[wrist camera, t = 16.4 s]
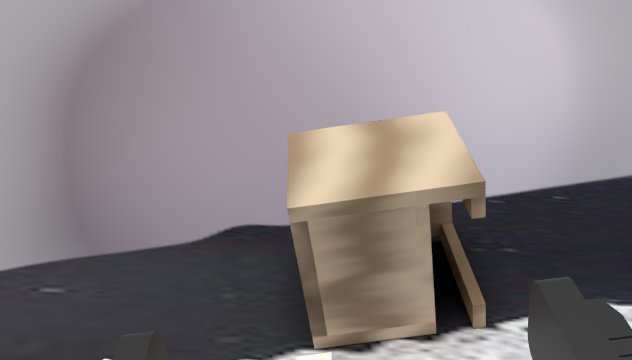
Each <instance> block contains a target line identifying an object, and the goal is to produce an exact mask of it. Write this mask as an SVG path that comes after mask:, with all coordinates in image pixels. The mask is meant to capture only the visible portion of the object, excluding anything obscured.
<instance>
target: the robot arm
mask: <svg viewBox="0 0 632 360" xmlns="http://www.w3.org/2000/svg"><path fill="white" fill-rule="evenodd" d="M528 342H529V348H530V352H531V356H532V359H533V360H632V329H631V327H630V326H629V324H628V323H627V321H626V320H625V318H624V317H623V315H622V314H620V313H619V312H618V311H617V310H615V309H614V308H613V307H611V306H610V305H609V304H607V303H606V302H605V301H603V300H602V299H601V298H599V299H591V300H585V299H584V298H583V296H582V294H581V293H580V291H579V290H578V288H577V286H576V285H575V283H574V281H573V280H572V279H571V278H570V277H563V278H555V279H547V280H539V281H533V282H532V283H531V286H530V301H529V318H528ZM112 360H170V358H169V356H168V353H167V350H166V348H165V345H164V342H163V340H162V337H161V335H160V334H159V332H157V331H153V332H146V333H138V334H130V335H123V336H121V338H120V339H119V341H118V344H117V347H116V350H115V353H114V356H113V359H112Z"/></svg>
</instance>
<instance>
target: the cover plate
mask: <svg viewBox="0 0 632 360" xmlns="http://www.w3.org/2000/svg"><path fill="white" fill-rule="evenodd" d="M295 360H333V358H332V352H328V353H320V354H313V355H305V356H298V357H295Z"/></svg>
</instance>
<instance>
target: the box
mask: <svg viewBox="0 0 632 360" xmlns="http://www.w3.org/2000/svg"><path fill="white" fill-rule="evenodd" d="M287 188H288V189H287V210H288V215H289V220H290V226H291V231H292V236H293V241H294V246H295V251H296V256H297V261H298V267H299V272H300V277H301V282H302V287H303V292H304V297H305V302H306V308H307V313H308V318H309V323H310V328H311V333H312V338H313V343H314V349H319V348H327V347H335V346H342V345H350V344H358V343H366V342H374V341H381V340H389V339H397V338H405V337H412V336H420V335H428V334H436V317H435V300H434V282H433V265H432V248H431V237H432V236H439V235H440V239H441V242H442V245H443V248H444V250H445V253H446V256H447V259H448V261H449V264H450V267H451V269H452V272H453V275H454V278H455V280H456V283H457V286H458V288H459V291H460V294H461V297H462V299H463V302H464V305H465V307H466V310H467V313H468V316H469V318H470V321H471V324H472V326H473V329H475V328H483V327H486V303H485V301H484V298H483V296H482V294H481V291H480V289H479V286H478V284H477V282H476V279H475V277H474V274H473V272H472V270H471V267H470V265H469V262H468V260H467V258H466V255H465V253H464V250H463V248H462V245H461V243H460V241H459V238H458V236H457V233H456V231H455V229H454V226H453V224H452V204H451V201H455V200H463V202H464V204H465V206H466V208H467V210H468V212H469V214H470V217H471V219H474V218H481V217H485V180H484V178H483V176H482V175H481V173H480V171H479V169H478V167H477V166H476V164H475V162H474V160H473V158H472V157H471V155H470V153H469V151H468V150H467V148H466V146H465V144H464V143H463V141H462V139H461V137H460V136H459V134H458V132H457V130H456V128H455V126H454V125H453V123H452V122H451V119H450V118H449V116H448V114H447V112H446V111H443V112H436V113H429V114H422V115H415V116H408V117H401V118H394V119H387V120H380V121H373V122H366V123H359V124H352V125H345V126H338V127H331V128H324V129H317V130H310V131H303V132H296V133H289V134H288V187H287Z"/></svg>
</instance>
